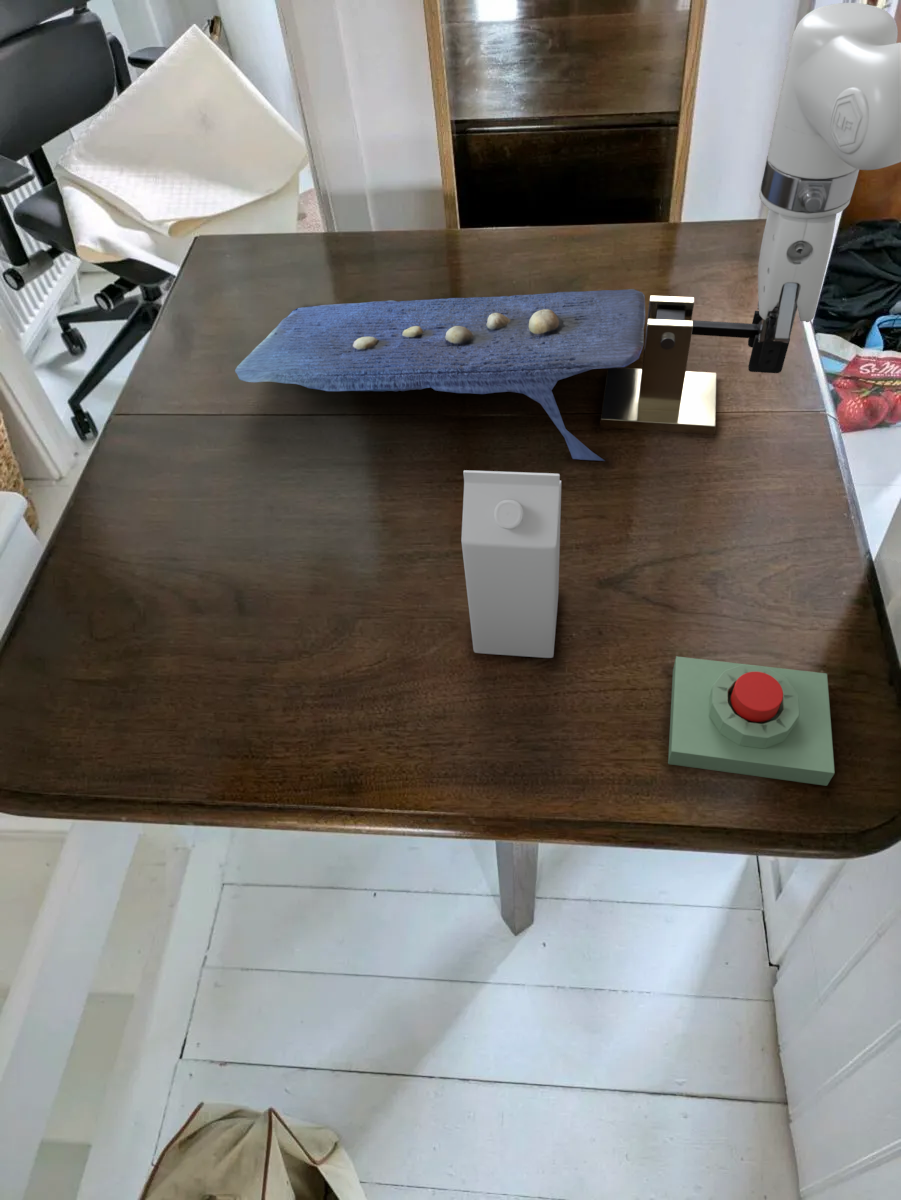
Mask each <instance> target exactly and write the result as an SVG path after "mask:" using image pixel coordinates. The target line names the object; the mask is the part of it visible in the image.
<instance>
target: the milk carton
mask: <svg viewBox="0 0 901 1200" xmlns="http://www.w3.org/2000/svg"><path fill="white" fill-rule="evenodd" d="M560 479H561V475H560V473H555V472H554V473H551V472H550V473H549V472H526V471H525V472H523V471H498V470H494V471H493V470H470V469H469V470H467V469H466V470H465V469H464V470H463V499H462V517H461V518H462V520H461V538H460V539H461V540H460V541H461V549H462V560H463V568H464V579H465V586H466V595H467V603H468V605H467V606H468V613H469V622H470V631H471V632H470V633H471V641H472V650H473V652H474V653H475V654H486V655H498V656H499V655H501V656H512V657H530V658H543V659H553V658H554V656H555V655H554V654H555V641H556V631H557V630H556V629H557V620H558V619H557V616H558V606H559V605H558V603H559V589H560V588H559V587H560V586H559V585H560V553H561V550H560V549H561V513H562V480H560Z"/></svg>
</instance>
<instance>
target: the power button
mask: <svg viewBox="0 0 901 1200" xmlns="http://www.w3.org/2000/svg"><path fill="white" fill-rule="evenodd" d="M782 700H783V690H782V688H781V686H780V684H779V683H778V681H777V680H776V679H774V678H773V677H772V676H770V675H768V674H766V673H762V672H748V673H745V674H743V675H742V676H740V677H739V678H738V679H737V681H736V683H735V686H734V688H733V691H732V695H731V704H732V707H733V708H734V710H735V711H736V713H737V714H738V715H740V716H741V717H742V718H744V719H746V720H748V721H752V722H765V721H768V720H770V719H772V718H773V717H774V716H775V715H776V713H777V712H778V709H779V707H780V705H781V702H782Z"/></svg>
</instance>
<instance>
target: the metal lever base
mask: <svg viewBox="0 0 901 1200" xmlns="http://www.w3.org/2000/svg"><path fill="white" fill-rule="evenodd" d="M694 306H695V297H694V296H673V295H671V296H669V295H649V303H648V309H647V310H648V311H647V319H646V329H645V337H644V345H643V347H644V348H643V357H642V365H641V368H634V367H633V368H632V367H616V368H607V370H606V378H605V385H604V392H603V400H602V407H601V412H600V413H601V414H600V424H599V427H600V428H608V429H624V430H636V431H637V430H639V431H652V432H653V431H655V432H666V433H667V432H669V433H684V434H698V435H699V434H700V435H715V431H716V427H717V425H716V421H717V375H718V373H717V372H708V371H707V372H706V371H691V370H690V371H689V370H687V366H688V360H689V355H690V354H689V353H690V348H691V342H692V336H693V335H692V330H693V321H688V320H693V313H694ZM657 309H669V310H685V320H664V319H656V313H657Z"/></svg>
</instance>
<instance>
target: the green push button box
mask: <svg viewBox="0 0 901 1200" xmlns="http://www.w3.org/2000/svg"><path fill="white" fill-rule="evenodd" d="M748 672H762V673H766V674H768V675H770V676H772V677H773V678H774V679H776V680H777V681H778V683H779V684H780V686H781V688H782V690H783V700H782V702H781V705H780V707H779V709H778V712H777V713H776V715H775V716H774V717H773V718H772V719H770V720H768V721H765V722H752V721H748V720H746V719H744V718H742V717H741V716H740V715H738V714H737V713H736V711H735V710H734V708H733V707H732V704H731V695H732V691H733V688H734V686H735V683H736V681H737V679H738V678H739V677H740V676H742V675H743V674H745V673H748ZM671 680H672V682H671V698H670V699H671V702H670V718H669V719H670V720H669V738H668V739H669V740H668V741H669V742H668V757H667V758H668V760H667V764H668V765H672V766H679V767H687V768H694V769H701V770H709V771H717V772H723V773H731V774H737V775H738V774H739V775H745V776H752V777H760V778H767V779H774V780H781V781H782V780H783V781H789V782H796V783H804V784H811V785H818V786H828V785H829V784H830V782H831V780H832V778H833V777H834V775H835V759H834V746H833V744H834V743H833V731H832V720H831V707H830V694H829V681H828V673H827V672H818V671H817V672H816V671H810V670H809V671H808V670H798V669H791V668H781V667H772V666H766V665H765V666H763V665H757V664H756V665H755V664H747V663H738V662H729V661H720V660H712V659H703V658H695V657H694V658H693V657H685V656H677V655H676V656H675V659H674V664H673V668H672V679H671Z"/></svg>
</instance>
